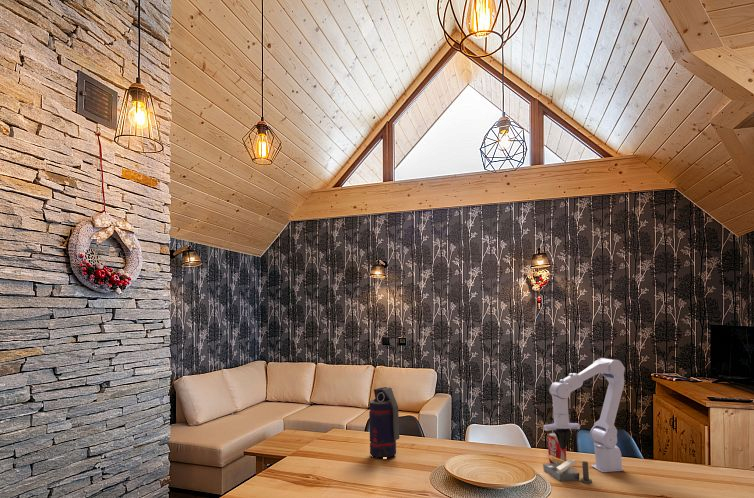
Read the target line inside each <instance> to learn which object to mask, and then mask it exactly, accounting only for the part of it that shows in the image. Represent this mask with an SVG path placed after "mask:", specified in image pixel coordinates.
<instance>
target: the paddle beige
mask: <svg viewBox="0 0 754 498" xmlns="http://www.w3.org/2000/svg"><path fill="white" fill-rule="evenodd" d="M576 464H577V462H576V460H575V459H573V458H569V459H566V462H564V463H562V464H561V465H559V466H558V467H556V468H557V470H558V471H560V472H563V471H565V470H566V469H570V468H571V467H573V466H574V465H576Z"/></svg>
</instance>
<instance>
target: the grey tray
mask: <svg viewBox="0 0 754 498" xmlns="http://www.w3.org/2000/svg"><path fill="white" fill-rule="evenodd" d="M559 465H561V463H560V464H559V463H557V462H555V463H550V462H549V463H542V467H543V471H544V472H545V473H547V474H548V475H550V476H551V477H553V478H554V479H556V480H558V481H559V482H570V481H571V482H572V481H581V480H580V479H581V478H580V472H578V471H576V470H575V469H573V468H571V467H570V469H566V470H565V471H563V472H560V471H558V470H557V468H556V467H558V466H559Z"/></svg>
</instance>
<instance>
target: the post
mask: <svg viewBox="0 0 754 498" xmlns="http://www.w3.org/2000/svg"><path fill="white" fill-rule="evenodd" d="M581 464H582V465H581V466H582V477H581V478H580V480H579V481H580V482H581V483H583V484H592V483H593V480H592V479H591V478H590V477H589V462H588V461H582V462H581Z"/></svg>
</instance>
